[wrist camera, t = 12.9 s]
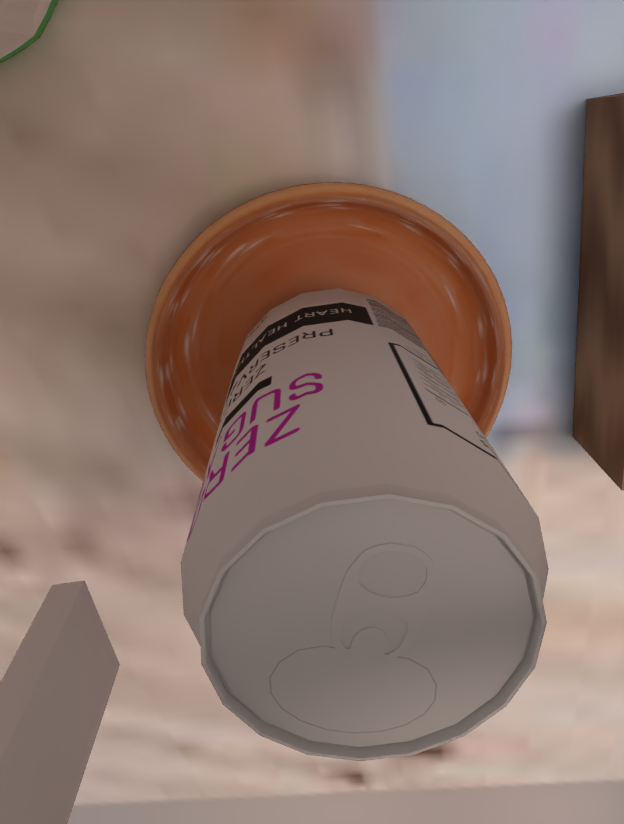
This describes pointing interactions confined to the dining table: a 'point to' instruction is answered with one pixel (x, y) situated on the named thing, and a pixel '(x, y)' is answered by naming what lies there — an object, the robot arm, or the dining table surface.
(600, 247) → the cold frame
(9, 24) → the cup
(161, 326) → the saucer
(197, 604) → the supplement can
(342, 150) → the dining table surface
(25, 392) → the dining table surface
